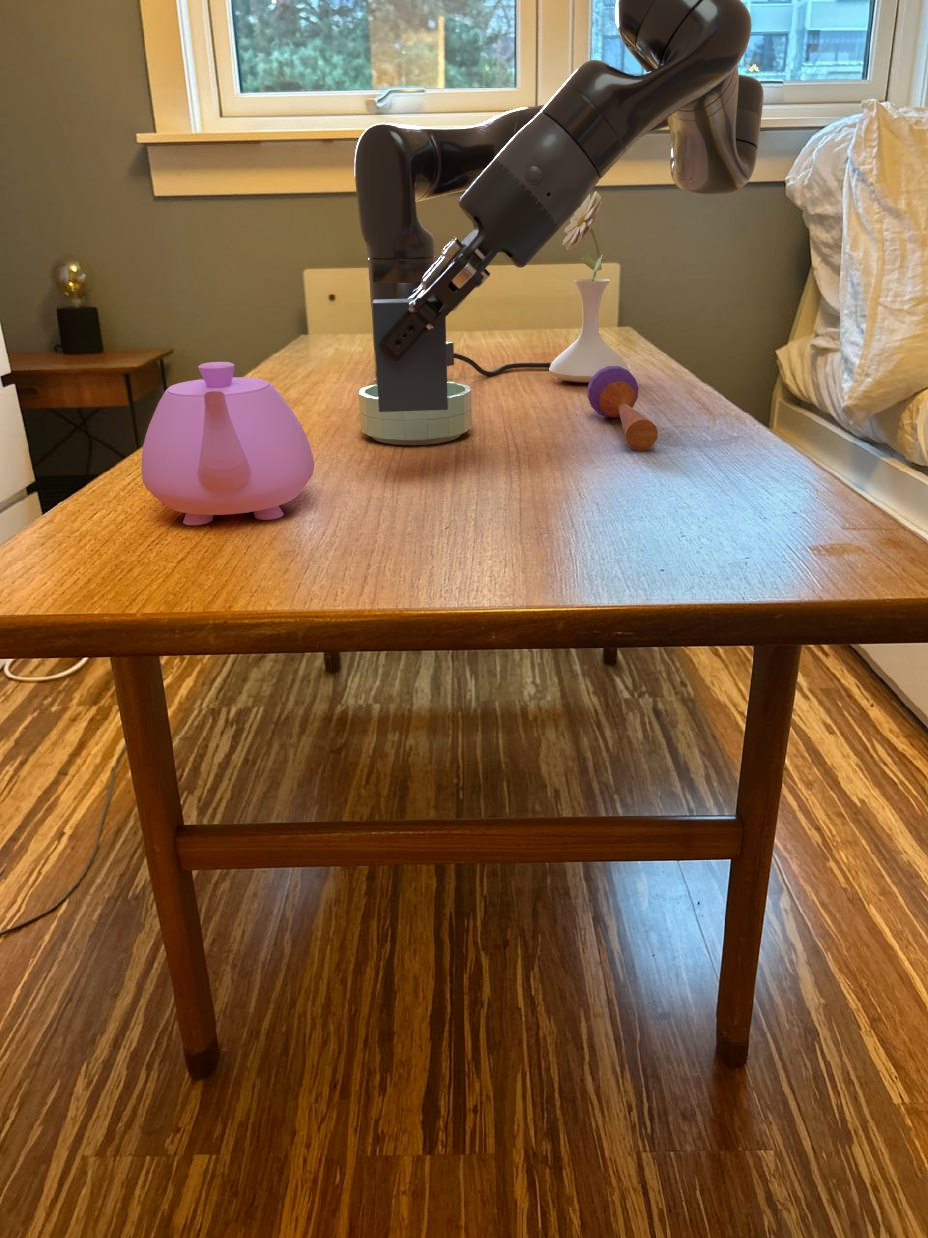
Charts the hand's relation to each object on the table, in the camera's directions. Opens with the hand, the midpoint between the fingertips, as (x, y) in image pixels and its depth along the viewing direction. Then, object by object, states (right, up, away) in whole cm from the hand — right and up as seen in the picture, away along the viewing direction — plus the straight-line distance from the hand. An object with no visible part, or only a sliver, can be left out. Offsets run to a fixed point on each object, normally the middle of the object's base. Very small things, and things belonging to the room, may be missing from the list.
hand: (387, 349), depth 78 cm
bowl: (+1, -2, +24) cm, 25 cm away
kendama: (+25, -2, +25) cm, 35 cm away
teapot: (-13, -14, 0) cm, 19 cm away
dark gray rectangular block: (+2, -4, +2) cm, 5 cm away
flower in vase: (+25, +11, +53) cm, 59 cm away
